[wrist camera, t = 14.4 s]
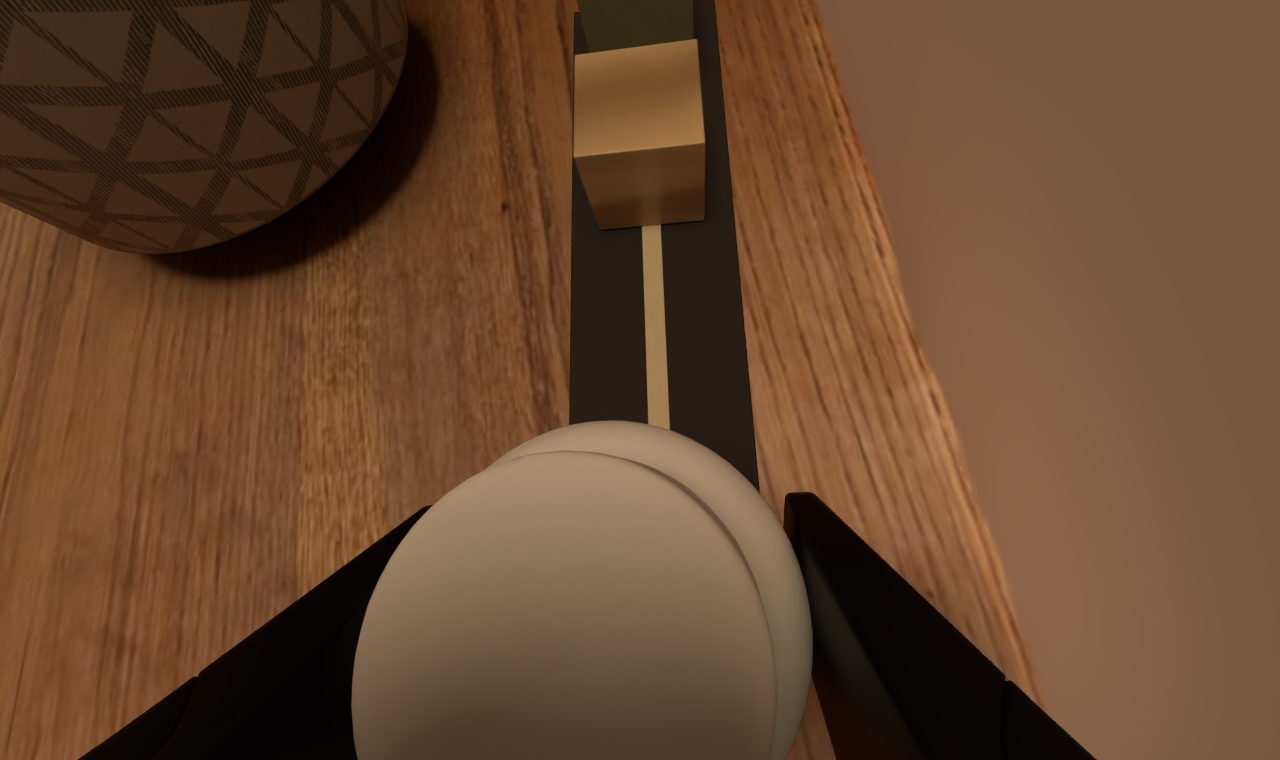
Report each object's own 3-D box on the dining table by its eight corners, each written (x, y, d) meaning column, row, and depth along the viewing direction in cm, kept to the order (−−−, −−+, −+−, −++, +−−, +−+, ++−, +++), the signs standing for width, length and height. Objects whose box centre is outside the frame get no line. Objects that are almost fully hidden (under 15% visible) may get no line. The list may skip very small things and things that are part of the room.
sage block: (694, 78, 23) (692, -25, 18) (598, 90, 23) (574, -7, 19) (688, 5, 24) (686, -108, 20) (597, 18, 24) (575, -89, 20)
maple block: (704, 220, 21) (705, 142, 16) (599, 230, 21) (572, 156, 17) (698, 132, 22) (697, 37, 17) (598, 143, 22) (574, 54, 18)
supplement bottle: (789, 629, 13) (1035, 935, 3) (599, 710, 13) (317, 1240, 3) (704, 441, 15) (709, 289, 5) (536, 512, 15) (224, 496, 5)
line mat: (760, 523, 18) (762, 524, 17) (571, 528, 18) (566, 529, 18) (713, 4, 25) (713, -10, 24) (576, 23, 25) (573, 10, 25)
